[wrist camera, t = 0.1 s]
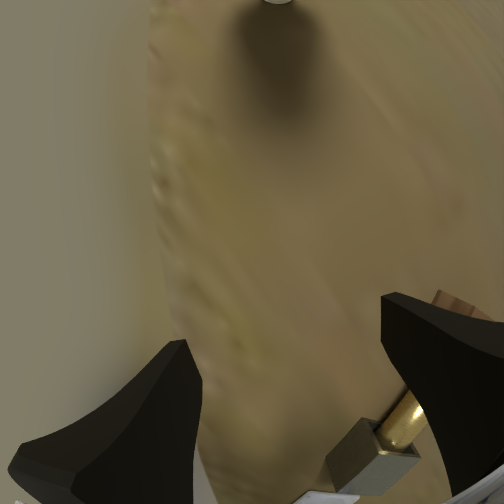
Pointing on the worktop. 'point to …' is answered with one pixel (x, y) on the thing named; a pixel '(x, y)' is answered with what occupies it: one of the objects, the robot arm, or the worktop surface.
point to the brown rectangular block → (457, 306)
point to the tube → (402, 425)
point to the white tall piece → (278, 1)
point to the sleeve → (367, 462)
